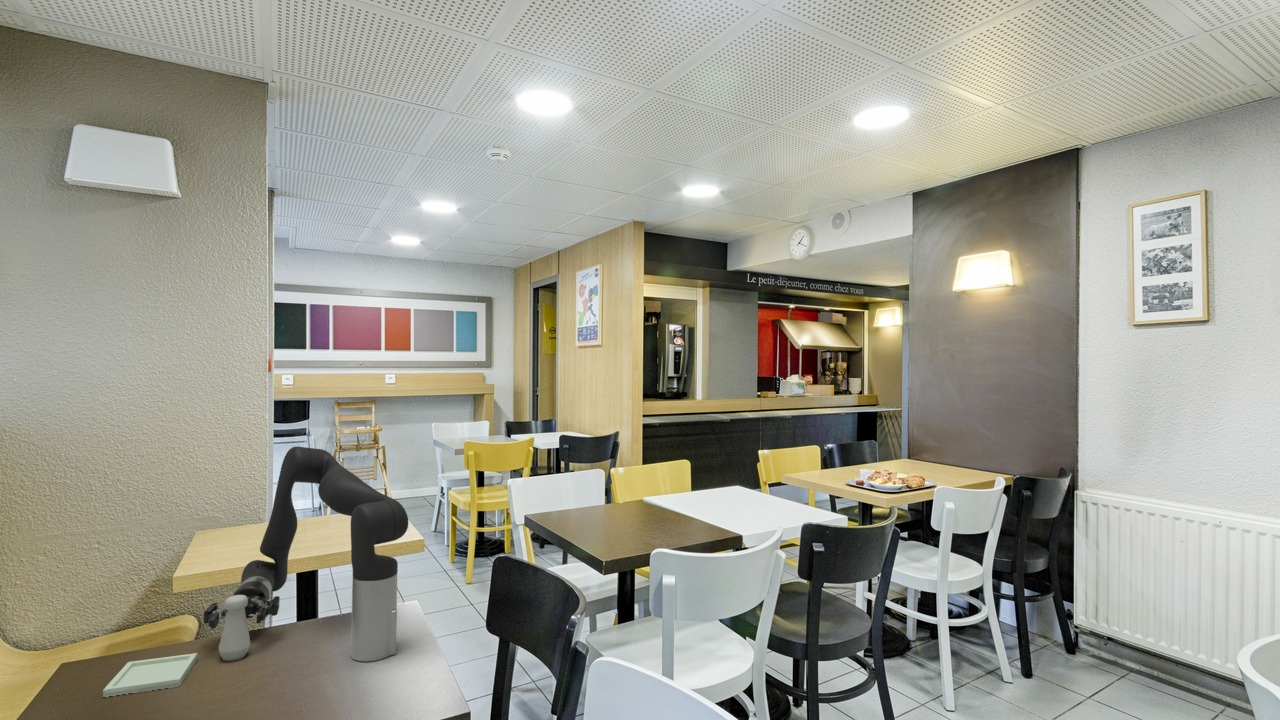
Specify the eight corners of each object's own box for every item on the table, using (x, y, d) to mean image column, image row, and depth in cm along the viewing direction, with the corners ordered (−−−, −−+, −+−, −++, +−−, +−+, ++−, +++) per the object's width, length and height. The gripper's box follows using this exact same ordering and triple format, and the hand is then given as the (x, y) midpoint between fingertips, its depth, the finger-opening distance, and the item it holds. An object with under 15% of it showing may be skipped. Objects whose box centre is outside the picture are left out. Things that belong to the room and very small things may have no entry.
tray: (197, 660, 132) (197, 653, 132) (179, 686, 121) (179, 679, 121) (128, 669, 128) (128, 662, 128) (102, 697, 117) (103, 689, 117)
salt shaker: (234, 664, 131) (236, 602, 131) (211, 661, 132) (213, 600, 132) (256, 652, 136) (258, 593, 137) (234, 649, 137) (236, 591, 138)
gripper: (217, 584, 147) (197, 608, 132) (285, 577, 152) (273, 600, 137) (216, 615, 147) (196, 643, 132) (284, 608, 152) (273, 634, 137)
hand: (236, 621), depth 135 cm, fingers open, 8 cm apart
